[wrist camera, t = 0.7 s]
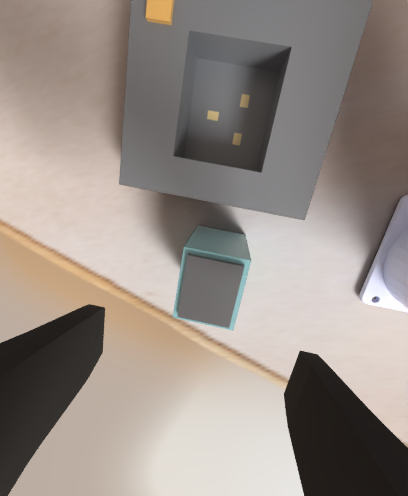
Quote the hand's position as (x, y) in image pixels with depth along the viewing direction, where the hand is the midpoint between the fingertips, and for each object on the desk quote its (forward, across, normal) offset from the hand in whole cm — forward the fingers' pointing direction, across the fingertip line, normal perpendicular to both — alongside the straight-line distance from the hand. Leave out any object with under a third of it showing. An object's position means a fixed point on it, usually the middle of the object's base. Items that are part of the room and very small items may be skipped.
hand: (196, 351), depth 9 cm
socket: (+10, +1, -10) cm, 14 cm away
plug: (+10, 0, 0) cm, 10 cm away
